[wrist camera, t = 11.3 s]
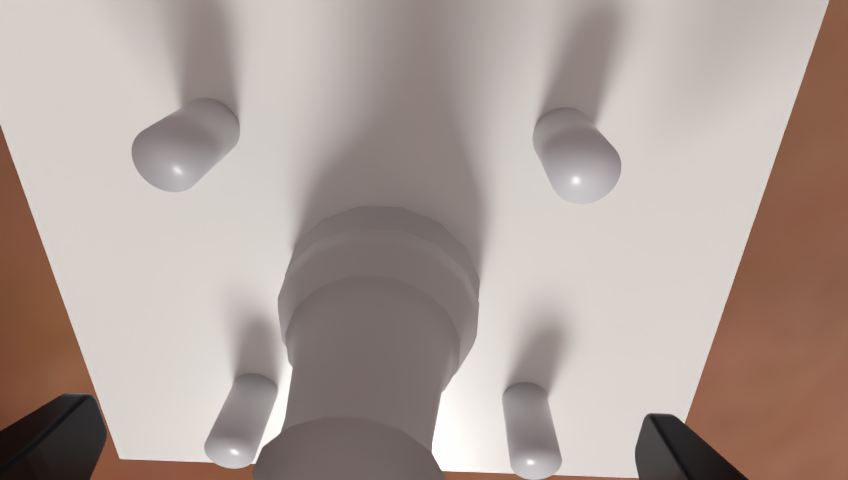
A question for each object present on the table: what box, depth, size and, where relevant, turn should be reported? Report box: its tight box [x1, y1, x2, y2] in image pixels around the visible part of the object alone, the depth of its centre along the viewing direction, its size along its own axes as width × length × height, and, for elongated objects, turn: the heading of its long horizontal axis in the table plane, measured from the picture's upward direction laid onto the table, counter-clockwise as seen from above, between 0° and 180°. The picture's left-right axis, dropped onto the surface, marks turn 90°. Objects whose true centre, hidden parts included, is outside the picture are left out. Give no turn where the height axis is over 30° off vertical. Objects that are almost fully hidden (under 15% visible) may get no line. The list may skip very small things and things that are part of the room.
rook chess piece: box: [252, 206, 480, 480], centre depth 9 cm, size 4×4×8 cm
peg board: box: [0, 0, 829, 480], centre depth 12 cm, size 16×13×3 cm
